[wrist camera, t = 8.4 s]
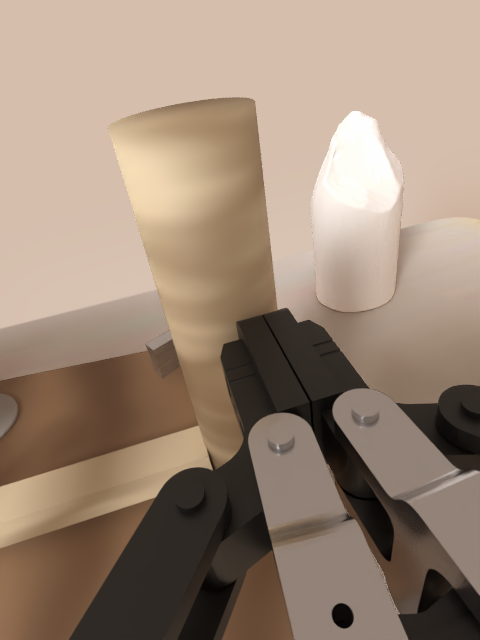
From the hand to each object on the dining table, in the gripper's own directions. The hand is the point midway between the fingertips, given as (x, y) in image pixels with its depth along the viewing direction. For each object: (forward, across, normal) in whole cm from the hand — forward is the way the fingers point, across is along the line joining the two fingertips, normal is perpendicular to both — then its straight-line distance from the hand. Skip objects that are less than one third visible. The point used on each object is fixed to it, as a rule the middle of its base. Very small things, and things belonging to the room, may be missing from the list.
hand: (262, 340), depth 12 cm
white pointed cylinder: (+15, -10, +10) cm, 20 cm away
